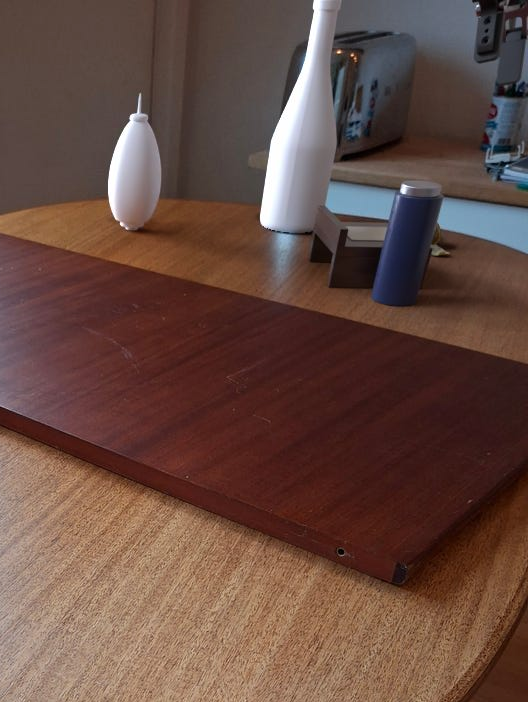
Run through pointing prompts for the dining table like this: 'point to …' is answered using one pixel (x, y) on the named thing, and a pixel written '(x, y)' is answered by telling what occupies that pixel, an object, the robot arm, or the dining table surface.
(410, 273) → the navy blue cylinder
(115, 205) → the air blower bulb
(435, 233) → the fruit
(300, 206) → the wine bottle
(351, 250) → the shoe shelf
